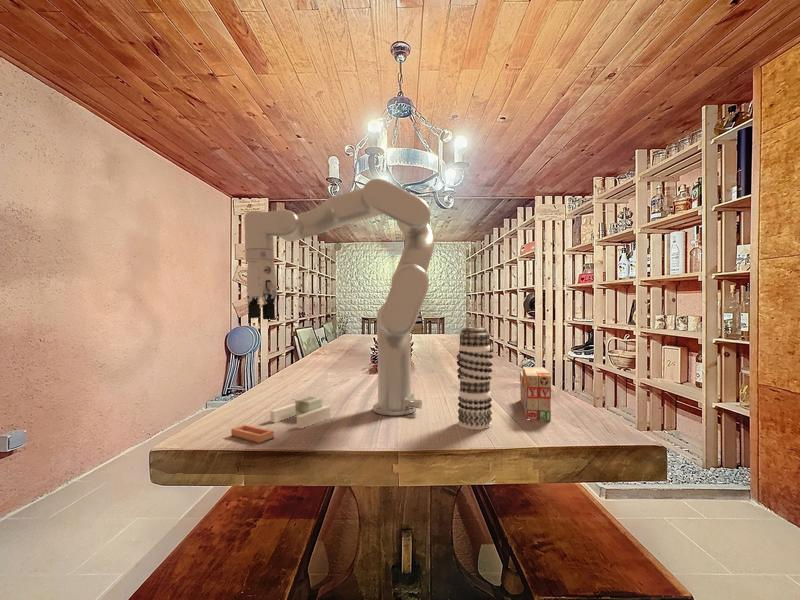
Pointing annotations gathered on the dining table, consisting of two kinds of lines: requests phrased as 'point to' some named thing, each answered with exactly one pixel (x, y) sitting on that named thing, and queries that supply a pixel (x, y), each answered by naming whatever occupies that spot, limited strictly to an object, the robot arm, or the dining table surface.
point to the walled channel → (302, 419)
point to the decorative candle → (474, 378)
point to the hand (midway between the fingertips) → (261, 318)
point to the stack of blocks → (536, 393)
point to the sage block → (307, 405)
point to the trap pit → (252, 434)
